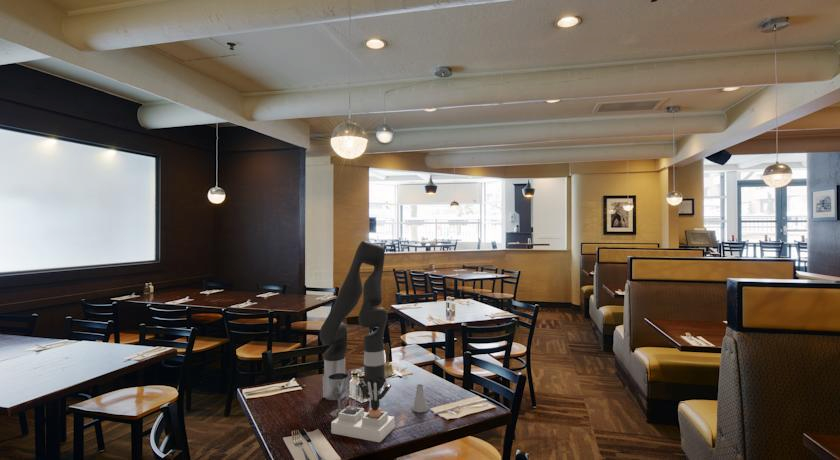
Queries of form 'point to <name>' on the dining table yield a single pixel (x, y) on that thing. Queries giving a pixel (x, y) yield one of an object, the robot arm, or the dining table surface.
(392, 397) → the dining table surface
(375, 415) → the terracotta button
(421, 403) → the flask
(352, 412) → the charcoal button
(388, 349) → the hand bell
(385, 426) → the console
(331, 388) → the wine glass
